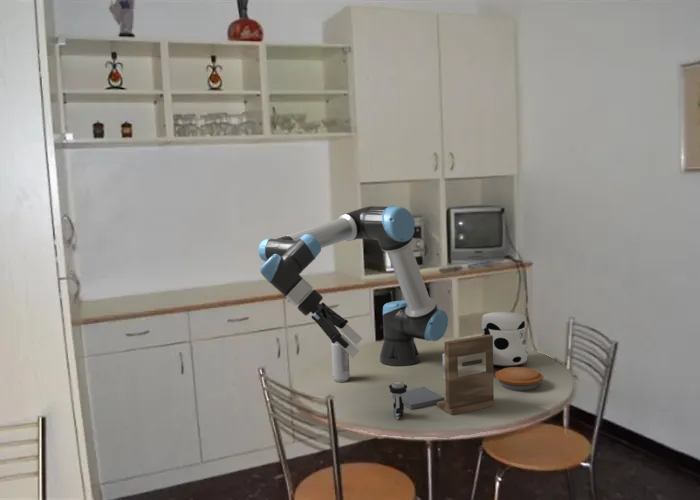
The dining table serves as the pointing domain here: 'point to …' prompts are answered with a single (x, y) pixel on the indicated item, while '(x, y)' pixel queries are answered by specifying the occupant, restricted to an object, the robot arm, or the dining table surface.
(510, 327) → the milk container
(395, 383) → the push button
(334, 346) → the energy drink can
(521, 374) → the pie
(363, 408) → the dining table surface
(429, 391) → the mat
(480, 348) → the mounted unit
